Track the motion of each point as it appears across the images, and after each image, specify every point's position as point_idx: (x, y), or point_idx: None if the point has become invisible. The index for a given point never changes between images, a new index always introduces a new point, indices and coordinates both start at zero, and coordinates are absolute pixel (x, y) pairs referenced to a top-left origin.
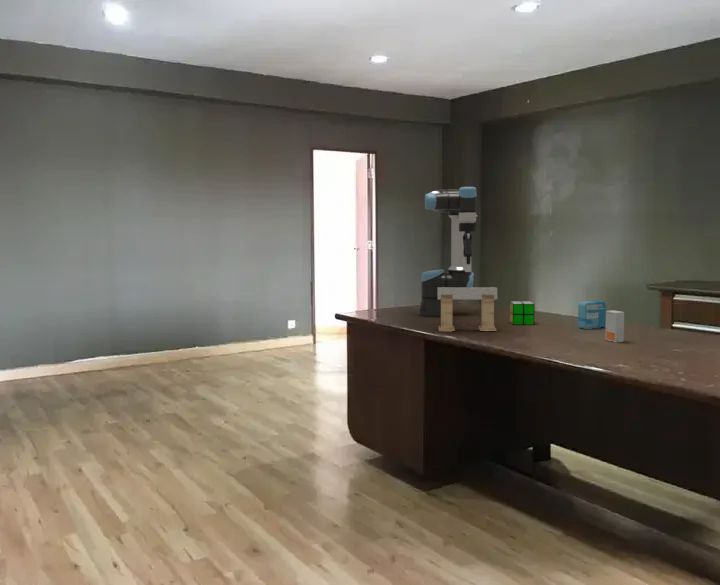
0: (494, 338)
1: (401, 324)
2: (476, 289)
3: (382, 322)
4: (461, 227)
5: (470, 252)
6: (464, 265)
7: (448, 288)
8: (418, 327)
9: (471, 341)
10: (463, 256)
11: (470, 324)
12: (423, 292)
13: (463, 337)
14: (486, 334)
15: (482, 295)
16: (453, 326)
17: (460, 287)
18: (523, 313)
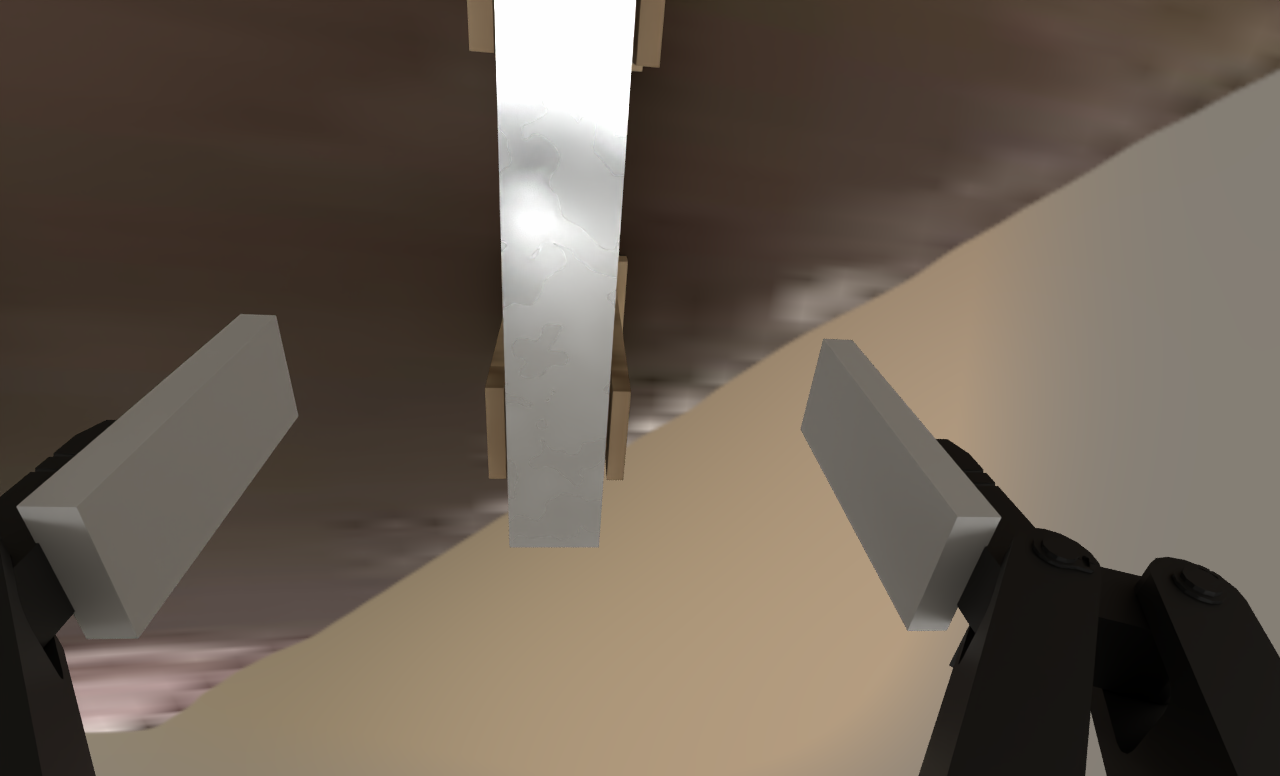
0: (945, 4)
1: (359, 530)
2: (623, 154)
3: (301, 611)
4: None
5: (1239, 643)
6: (257, 450)
7: (604, 461)
8: (466, 451)
9: (1005, 190)
10: (118, 616)
11: (253, 94)
12: None
13: (858, 222)
14: (767, 37)
15: (658, 67)
16: None
17: (528, 345)
18: None
